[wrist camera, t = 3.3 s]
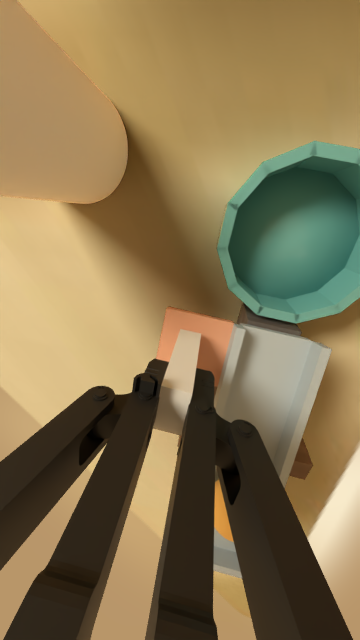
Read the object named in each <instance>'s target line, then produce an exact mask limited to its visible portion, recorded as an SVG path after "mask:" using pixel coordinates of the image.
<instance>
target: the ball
mask: <svg viewBox="0 0 360 640" xmlns="http://www.w3.org/2000/svg"><path fill="white" fill-rule="evenodd" d="M214 527H215V529H216V530H217V531H218V533H219V534H220V535H222V536H223V537H224V538H225V539H227V540H229V541H231V542H234V541H233V537H232V533H231V528H230V524H229V520H228V515H227V511H226V507H225V503H224V498H223V494H222V490H221V486H220V481H219V479H218V480H217V481H216V482H215V511H214Z"/></svg>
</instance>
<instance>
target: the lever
mask: <svg viewBox="0 0 360 640" xmlns="http://www.w3.org/2000/svg"><path fill="white" fill-rule="evenodd" d="M180 329H183V330H188V331H192V332H196V333H201V339H200V346H199V353H198V360H197V366H196V368H199V369H203V370H207V371H211V372H212V373H213V375H214V377H215V383H214V386H216V387H217V391H216V395H215V399H214V407H215V409H216V412H217V414H218V415H219V416H220V417H221V418H223V419H225V420H226V421H228V422H230V423H232V421H234V420H237V419H241V420H246V421H248V422H250V423H251V424H252V425H254V426H255V427H256V429H257V430H258V432H259V434H260V436H261V439H262V441H263V443H264V445H265V447H266V450H267V452H268V454H269V456H270V458H271V461H272V463H273V465H274V467H275V469H276V471H277V474H278V476H279V478H280V480H281V482H282V485H283V487H284V489H285V486H286V483H287V480H288V477H289V474H290V471H291V468H292V466H293V463H294V460H295V457H296V454H297V451H298V448H299V445H300V442H301V439H302V436H303V433H304V430H305V427H306V424H307V421H308V418H309V416H310V413H311V410H312V407H313V404H314V401H315V398H316V395H317V392H318V389H319V386H320V383H321V380H322V377H323V374H324V371H325V368H326V365H327V363H328V360H329V357H330V354H331V351H332V349H330V348H329V347H327V346H325V345H323V344H321V343H318V342H314V341H311V340H309V339H308V338H305V337H301V336H296V335H292V334H288V333H283V332H279V331H274V330H270V329H265V328H261V327H257V326H252V325H248V324H244V323H240V325H239V324H235V323H233V321H230V320H226V319H221V318H217V317H213V316H208V315H204V314H199V313H195V312H191V311H186V310H182V309H177V308H173V307H169V306H168V307H167V308H166V313H165V318H164V323H163V328H162V332H161V337H160V342H159V347H158V352H157V357H156V359H159V360H163V361H167V362H169V361H170V358H171V355H172V352H173V349H174V346H175V344H176V341H177V338H178V335H179V332H180ZM218 479H219V477H218V473H217V466H216V465H215V482H216V481H217V480H218ZM213 570H214V571H217V572H221V573H224V574H228V575H231V576H235V577H238V578H242V575H241V571H240V567H239V562H238V558H237V554H236V550H235V545H234V542H231V541H229V540H227V539H225V538H224V537H223V536H222V535H220V534H219V533H218V531H217V530H216V529H215V527H214V567H213Z"/></svg>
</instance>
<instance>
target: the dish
mask: <svg viewBox="0 0 360 640" xmlns="http://www.w3.org/2000/svg"><path fill="white" fill-rule="evenodd" d="M217 251H218V254H219V258H220V261H221V265H222V268H223V272H224V275H225V279H226V282H227V286H228V289H229V290H230V291H232V292H233V293H234V294H235V295H236V296H237V297H238V298H239V299H240V300H241V301H242V302H244V303H245V304H246V305H247V306H248V307H249V308H250V309H251V310H252V311H253V312H254V313H256V315H261V316H265V317H269V318H274V319H278V320H283V321H287V322H292V323H296V324H297V323H300V322H305V321H309V320H313V319H317V318H321V317H325V316H329V315H334V314H338V313H340V312H342V311H343V310H344V309H346V308H347V307H348V306H349V305H351V304H352V303H353V302H355V301H356V300H357V299H359V298H360V149H357V148H351V147H346V146H340V145H335V144H329V143H324V142H318V141H313V142H311V143H309V144H306V145H304V146H301V147H299V148H296V149H294V150H291V151H289V152H286V153H284V154H281V155H279V156H276V157H274V158H272V159H269V160H267V161H264V162H262V163H261V165H260V166H259V167H258V168H257V169H256V171H255V172H254V173H253V174H252V175H251V177H250V178H249V179H248V180H247V181H246V182H245V184H244V185H243V186H242V187H241V188H240V189H239V191H238V192H237V193H236V194H235V195H234V196H233V198H232V199H231V200H230V201H229V202H228V203H227V205H226V209H225V213H224V217H223V221H222V225H221V230H220V234H219V238H218V242H217Z"/></svg>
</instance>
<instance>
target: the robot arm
mask: <svg viewBox="0 0 360 640" xmlns="http://www.w3.org/2000/svg"><path fill="white" fill-rule="evenodd" d="M200 339H201V333H196V332H192V331H188V330H183V329H180V332H179V335H178V338H177V341H176V344H175V346H174V349H173V352H172V355H171V358H170V361H169V362H167V361H163V360H159V359H153V360H152V361H150V362H149V364H148V366H147V368H146V370H145V373H141V374H139V375H137V376H136V377H135V378H134V382H133V390H132V393H129V394H124V395H115V393H114V391H113V390H112V389H111V388H109V387H106V386H96V387H93V388H91V389H89V390H88V391H87V392H86V393H84V394H83V395H82V396H81V397H79V398H78V399H77V400H76V401H74V402H73V403H72V404H71V405H70V406H68V407H67V408H66V409H65V410H63V411H62V412H61V413H60V414H59V415H57V416H56V417H55V418H54V419H52V420H51V421H50V422H49V423H47V424H46V425H45V426H44V427H43V428H41V429H40V430H39V431H38V432H36V433H35V434H34V435H33V436H32V437H30V438H29V439H28V440H27V441H25V442H24V443H23V444H22V445H20V446H19V447H18V448H17V449H16V450H14V451H13V452H12V453H11V454H10V455H9V456H7V457H6V458H5V459H3V460H2V461H1V462H0V570H1V569H2V568H3V567H4V565H5V564H6V563H7V562H8V561H9V559H10V558H11V557H12V556H13V555H14V553H15V552H16V551H17V550H18V549H19V548H20V546H21V545H22V544H23V543H24V542H25V540H26V539H27V538H28V537H29V536H30V534H31V533H32V532H33V531H34V530H35V528H36V527H37V526H38V525H39V524H40V522H41V521H42V520H43V519H44V518H45V516H46V515H47V514H48V513H49V512H50V510H51V509H52V508H53V507H54V506H55V504H56V503H57V502H58V501H59V500H60V498H61V497H62V496H63V495H64V494H65V492H66V491H67V490H68V489H69V488H70V486H71V485H72V484H73V483H74V482H75V480H76V479H77V478H78V477H79V476H80V474H81V473H82V472H83V471H84V470H85V469H86V467H87V466H88V465H89V464H90V463H91V461H92V460H93V459H94V458H95V457H96V455H97V454H98V453H99V452H100V451H101V449H102V448H103V447H104V446H105V445H106V447H105V449H104V451H103V453H102V455H101V457H100V459H99V461H98V463H97V465H96V467H95V469H94V471H93V473H92V475H91V477H90V479H89V481H88V484H87V485H86V488H85V490H84V492H83V494H82V496H81V498H80V500H79V502H78V504H77V506H76V508H75V510H74V512H73V514H72V516H71V519H70V520H69V523H68V525H67V527H66V529H65V531H64V533H63V535H62V537H61V539H60V541H59V543H58V545H57V547H56V549H55V551H54V553H53V555H52V557H51V559H50V561H49V563H48V565H47V566H46V568H45V569H44V570H43V571H42V572H40V573H39V574H38V576H37V577H36V578H35V580H34V581H33V583H32V585H31V587H30V588H29V590H28V592H27V594H26V596H25V598H24V600H23V602H22V604H21V606H20V608H19V610H18V612H17V614H16V616H15V617H14V619H13V621H12V623H11V625H10V627H9V629H8V631H7V633H6V635H5V637H4V639H3V640H90V638H91V634H92V630H93V627H94V623H95V620H96V617H97V613H98V610H99V607H100V603H101V600H102V597H103V593H104V590H105V587H106V584H107V580H108V577H109V573H110V570H111V567H112V563H113V560H114V557H115V554H116V551H117V547H118V544H119V540H120V537H121V534H122V531H123V527H124V524H125V520H126V518H127V514H128V511H129V508H130V504H131V501H132V498H133V494H134V491H135V488H136V485H137V481H138V478H139V475H140V471H141V468H142V465H143V461H144V458H145V455H146V452H147V448H148V445H149V442H150V438H151V434H152V429H153V428H154V429H158V430H162V431H166V432H170V433H173V434H177V435H181V441H180V444H179V448H178V452H177V455H178V456H177V461H176V467H175V473H174V478H173V484H172V490H171V495H170V501H169V507H168V512H167V518H166V524H165V529H164V535H163V541H162V546H161V552H160V558H159V563H158V570H157V575H156V580H155V587H154V592H153V598H152V603H151V609H150V615H149V620H148V626H147V632H146V637H145V640H218V636H217V627H216V624H215V622H214V619H213V567H214V511H215V465H216V466H217V473H218V477H219V481H220V486H221V490H222V494H223V498H224V503H225V507H226V511H227V515H228V520H229V524H230V528H231V533H232V537H233V541H234V545H235V550H236V554H237V558H238V562H239V567H240V571H241V575H242V580H243V584H244V588H245V592H246V597H247V601H248V605H249V609H250V614H251V618H252V622H253V627H254V631H255V635H256V639H257V640H353V638H352V636H351V634H350V632H349V630H348V628H347V625H346V623H345V621H344V619H343V616H342V615H341V612H340V610H339V608H338V605H337V604H336V601H335V599H334V597H333V594H332V592H331V590H330V588H329V586H328V584H327V581H326V579H325V577H324V575H323V573H322V570H321V568H320V566H319V564H318V562H317V559H316V557H315V555H314V553H313V551H312V548H311V546H310V544H309V542H308V540H307V537H306V535H305V533H304V531H303V529H302V526H301V524H300V522H299V520H298V518H297V515H296V513H295V511H294V509H293V507H292V504H291V502H290V500H289V498H288V496H287V493H286V491H285V489H284V487H283V485H282V482H281V480H280V478H279V476H278V474H277V471H276V469H275V467H274V465H273V463H272V461H271V458H270V456H269V454H268V452H267V450H266V447H265V445H264V443H263V441H262V439H261V436H260V434H259V432H258V430H257V429H256V427H255V426H254V425H252V424H251V423H250V422H248V421H246V420H241V419H237V420H234V421H232V423H230V422H228V421H226V420H225V419H223V418H221V417H220V416H219V415H218V414H217V412H216V409H215V407H214V383H215V377H214V375H213V373H212V372H211V371H207V370H203V369H199V368H196V366H197V360H198V353H199V346H200ZM106 443H107V444H106Z"/></svg>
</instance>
